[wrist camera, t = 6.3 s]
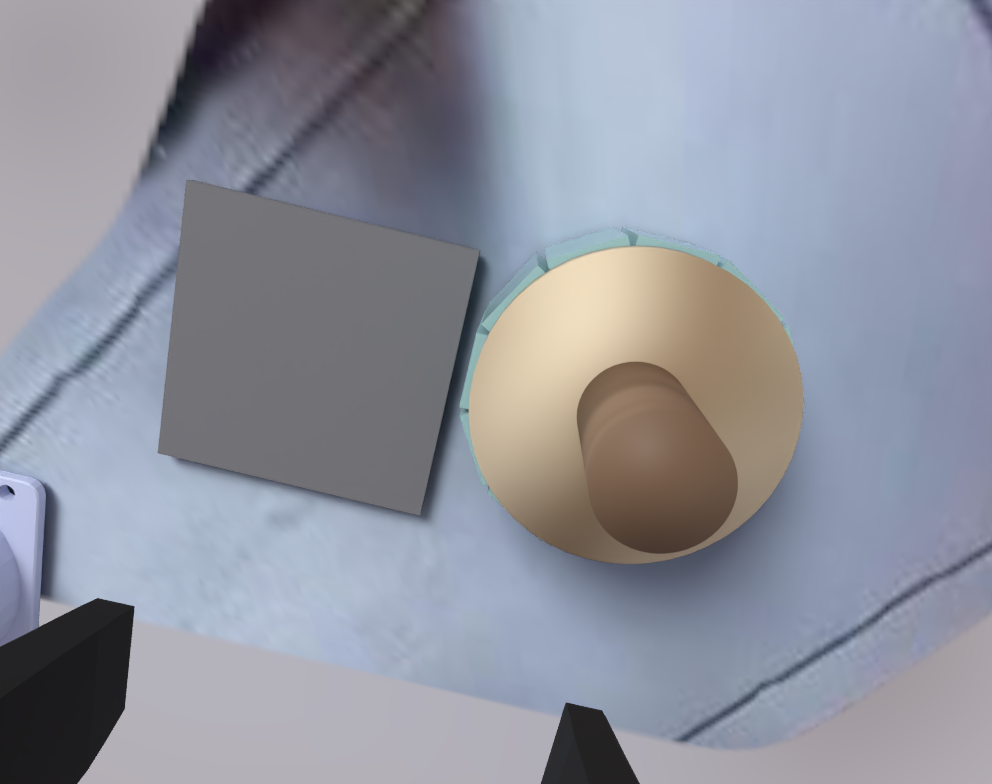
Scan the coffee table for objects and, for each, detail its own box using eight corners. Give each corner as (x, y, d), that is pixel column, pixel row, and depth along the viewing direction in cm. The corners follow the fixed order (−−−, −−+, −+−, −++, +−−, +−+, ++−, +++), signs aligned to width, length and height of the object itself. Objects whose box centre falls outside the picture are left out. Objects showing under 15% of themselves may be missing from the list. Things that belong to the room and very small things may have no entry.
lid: (439, 505, 18) (407, 614, 14) (517, 206, 16) (510, 217, 12) (726, 580, 18) (790, 713, 14) (841, 294, 16) (961, 340, 12)
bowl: (448, 469, 21) (433, 517, 18) (511, 199, 19) (506, 202, 16) (707, 531, 22) (736, 589, 19) (801, 270, 19) (851, 287, 16)
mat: (164, 448, 22) (158, 453, 21) (193, 180, 19) (186, 180, 19) (421, 510, 22) (420, 515, 22) (480, 250, 20) (479, 251, 19)
